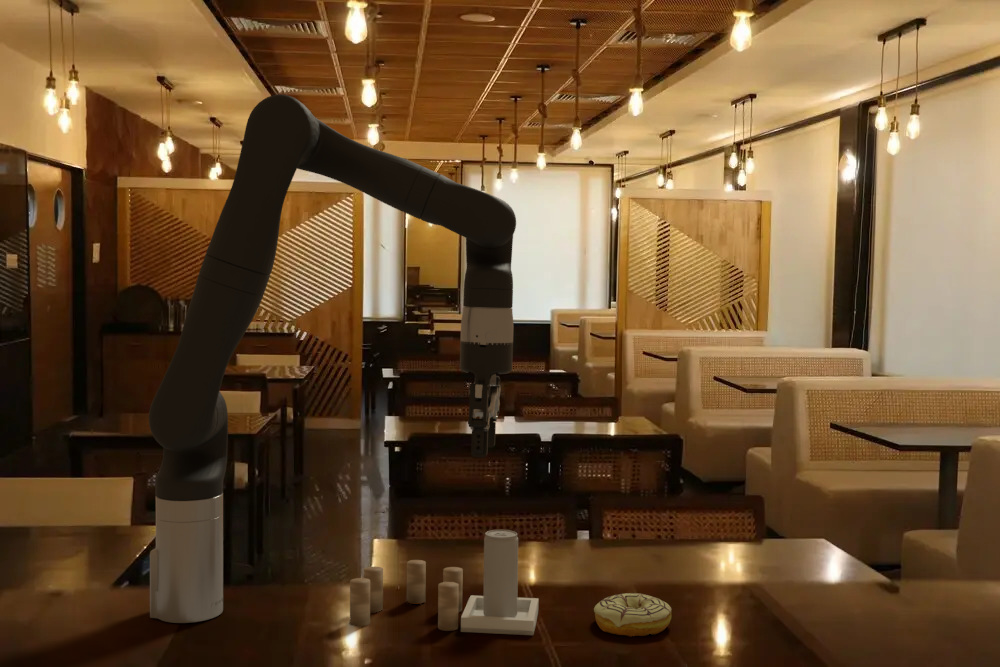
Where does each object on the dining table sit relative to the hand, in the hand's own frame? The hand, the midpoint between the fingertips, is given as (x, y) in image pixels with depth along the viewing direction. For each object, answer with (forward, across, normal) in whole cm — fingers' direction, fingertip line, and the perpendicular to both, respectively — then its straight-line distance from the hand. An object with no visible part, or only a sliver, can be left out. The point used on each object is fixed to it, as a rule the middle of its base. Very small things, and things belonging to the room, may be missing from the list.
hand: (483, 451), depth 146 cm
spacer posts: (+24, +1, -10) cm, 26 cm away
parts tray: (+24, +2, +4) cm, 24 cm away
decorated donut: (+24, +1, +22) cm, 32 cm away
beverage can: (+23, +2, +4) cm, 24 cm away
